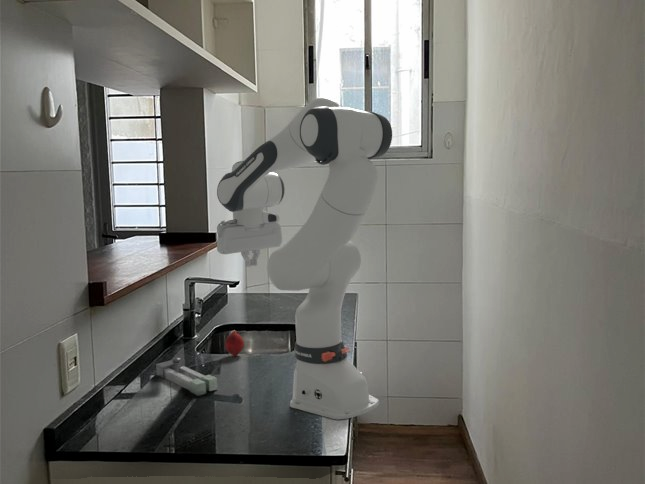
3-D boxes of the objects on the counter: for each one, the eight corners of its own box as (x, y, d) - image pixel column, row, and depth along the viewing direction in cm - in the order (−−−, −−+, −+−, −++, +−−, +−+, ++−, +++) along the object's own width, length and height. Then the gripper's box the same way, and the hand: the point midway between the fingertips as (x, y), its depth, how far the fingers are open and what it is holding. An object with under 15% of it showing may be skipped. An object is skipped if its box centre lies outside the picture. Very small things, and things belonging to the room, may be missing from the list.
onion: (241, 358, 195) (239, 333, 194) (223, 358, 196) (221, 332, 195) (247, 353, 200) (245, 328, 199) (229, 352, 202) (228, 327, 201)
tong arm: (171, 373, 184) (170, 358, 183) (179, 371, 185) (178, 356, 185) (209, 391, 168) (208, 375, 167) (217, 389, 169) (216, 373, 169)
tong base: (218, 389, 169) (218, 377, 169) (197, 395, 165) (196, 383, 165) (176, 369, 187) (175, 359, 187) (156, 374, 183) (156, 364, 183)
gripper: (222, 221, 175) (226, 272, 176) (283, 215, 187) (286, 262, 189) (210, 220, 179) (214, 270, 181) (271, 214, 192) (273, 260, 194)
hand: (251, 266), depth 185 cm, fingers closed
